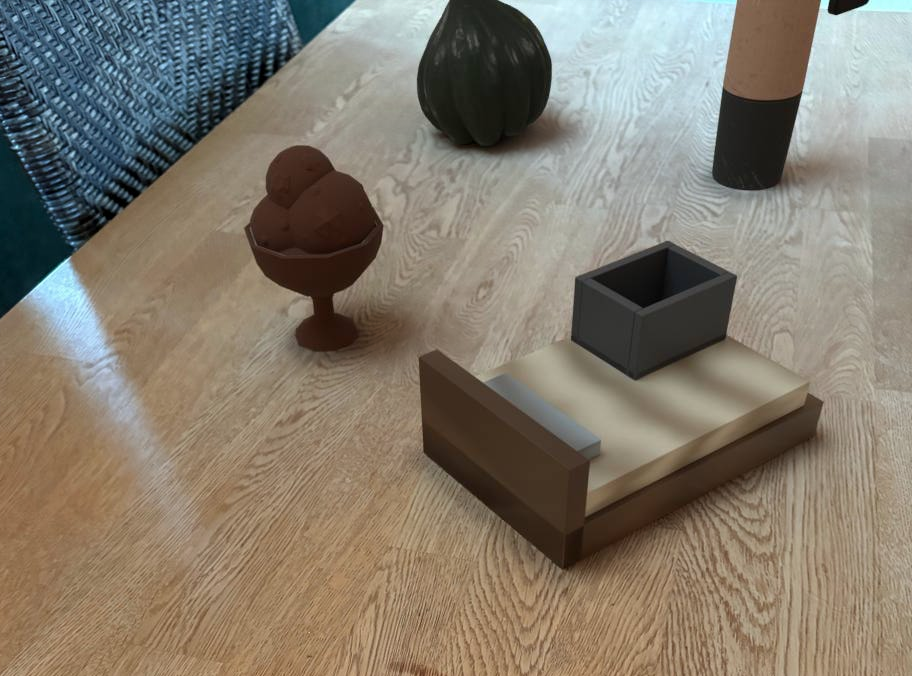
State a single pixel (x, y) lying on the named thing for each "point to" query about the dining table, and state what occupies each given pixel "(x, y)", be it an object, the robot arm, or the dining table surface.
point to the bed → (561, 470)
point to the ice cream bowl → (314, 239)
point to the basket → (652, 308)
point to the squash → (483, 72)
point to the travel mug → (762, 90)
